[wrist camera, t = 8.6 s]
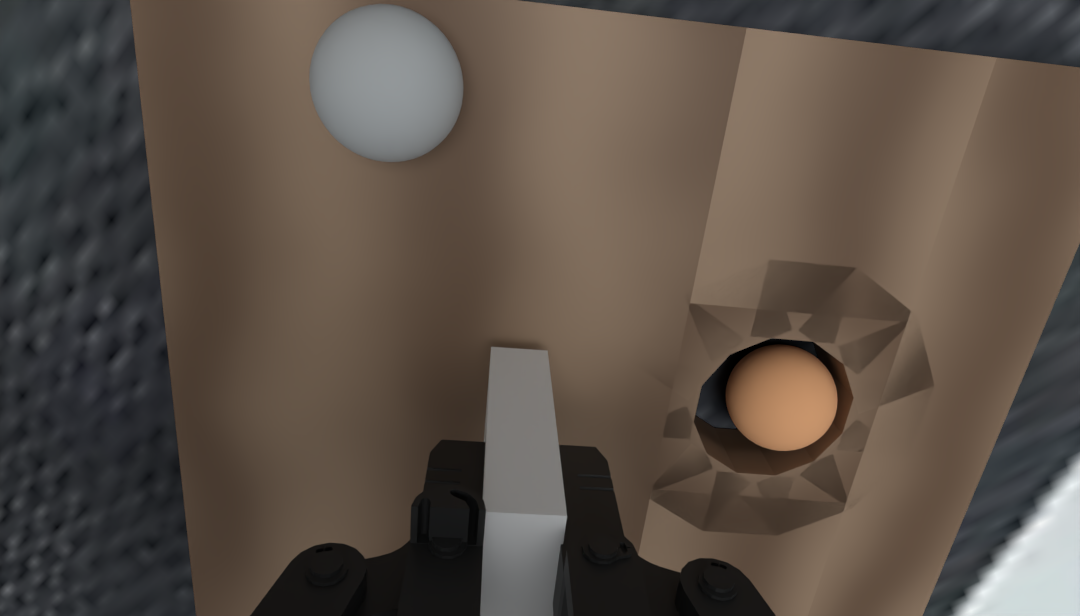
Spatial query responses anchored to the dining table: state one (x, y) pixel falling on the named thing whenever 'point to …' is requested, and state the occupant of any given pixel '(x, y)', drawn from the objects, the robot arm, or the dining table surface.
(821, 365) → the ball
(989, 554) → the dining table surface
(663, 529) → the board
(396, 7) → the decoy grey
